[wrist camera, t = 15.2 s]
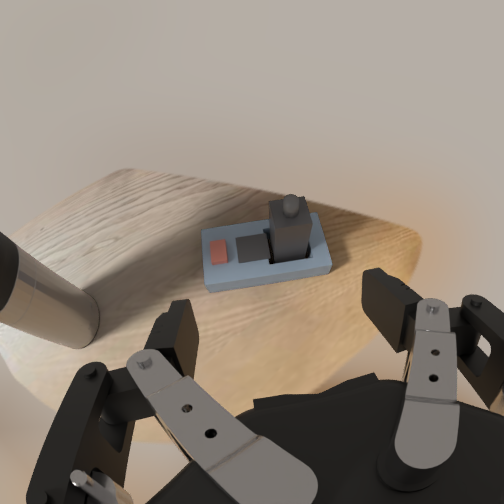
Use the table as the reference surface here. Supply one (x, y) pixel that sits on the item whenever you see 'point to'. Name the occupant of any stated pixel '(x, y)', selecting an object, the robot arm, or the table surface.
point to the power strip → (256, 256)
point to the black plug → (289, 228)
